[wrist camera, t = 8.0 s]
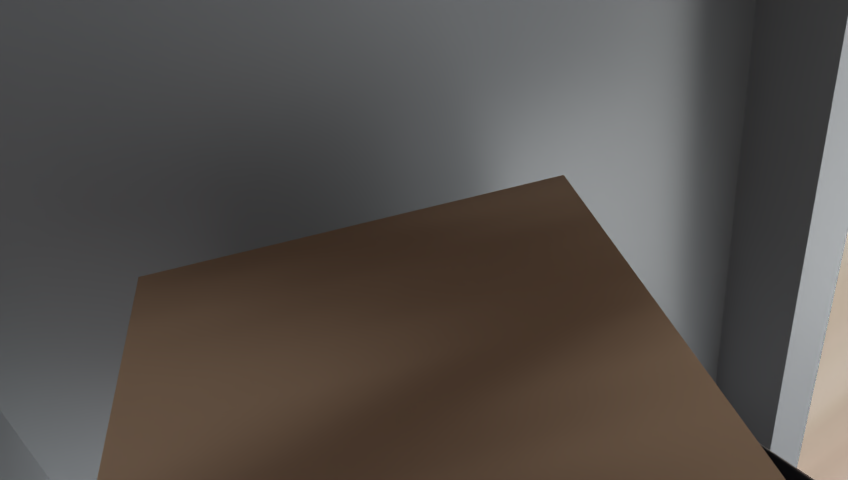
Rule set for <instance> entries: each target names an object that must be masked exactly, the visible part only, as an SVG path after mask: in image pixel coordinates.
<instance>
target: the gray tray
mask: <svg viewBox="0 0 848 480" xmlns="http://www.w3.org/2000/svg"><path fill="white" fill-rule="evenodd" d="M561 175H564V176H565V177H566V179H567V180H568V181H569V183H570V184H571V186H572V187H573V188H574V190H575V191H576V192H577V194H578V195H579V197H580V198H581V199H582V201H583V202H584V203H585V205H586V206H587V207H588V209H589V210H590V212H591V213H592V214H593V216H594V217H595V218H596V220H597V221H598V223H599V224H600V225H601V227H602V228H603V229H604V231H605V232H606V234H607V235H608V236H609V238H610V239H611V240H612V242H613V243H614V245H615V246H616V247H617V249H618V250H619V251H620V253H621V254H622V256H623V257H624V258H625V260H626V261H627V262H628V264H629V265H630V267H631V268H632V269H633V271H634V272H635V273H636V275H637V276H638V278H639V279H640V280H641V282H642V283H643V284H644V286H645V287H646V289H647V290H648V291H649V293H650V294H651V295H652V297H653V298H654V299H655V301H656V302H657V304H658V305H659V306H660V308H661V309H662V310H663V312H664V313H665V315H666V316H667V317H668V319H669V320H670V321H671V323H672V324H673V326H674V327H675V328H676V330H677V331H678V332H679V334H680V335H681V337H682V338H683V339H684V341H685V342H686V343H687V345H688V346H689V348H690V349H691V350H692V352H693V353H694V354H695V356H696V357H697V359H698V360H699V361H700V363H701V364H702V365H703V367H704V368H705V370H706V371H707V372H708V374H709V375H710V376H711V378H712V379H713V381H714V382H715V383H716V385H717V386H718V387H719V389H720V390H721V391H722V393H723V394H724V396H725V397H726V398H727V400H728V401H729V402H730V404H731V405H732V407H733V408H734V409H735V411H736V412H737V413H738V415H739V416H740V418H741V419H742V420H743V422H744V423H745V424H746V426H747V427H748V429H749V430H750V431H751V433H752V434H753V435H754V437H755V438H756V440H757V441H758V442H759V443H760V444H761V445H763V446H764V447H766V448H767V449H769V450H770V451H772V452H773V453H775V454H776V455H778V456H779V457H781V458H782V459H784V460H785V461H787V462H788V463H790V464H791V465H793V466H794V467H796V468H797V464H798V460H799V455H800V450H801V446H802V441H803V437H804V432H805V427H806V423H807V418H808V413H809V409H810V404H811V399H812V395H813V390H814V386H815V381H816V376H817V372H818V367H819V362H820V358H821V353H822V348H823V344H824V339H825V334H826V330H827V325H828V321H829V316H830V311H831V307H832V302H833V297H834V293H835V288H836V283H837V279H838V274H839V270H840V265H841V260H842V256H843V251H844V246H845V242H846V237H847V232H848V0H0V480H97V477H98V472H99V468H100V463H101V458H102V453H103V448H104V443H105V438H106V433H107V428H108V424H109V419H110V414H111V409H112V404H113V399H114V394H115V389H116V385H117V380H118V375H119V370H120V365H121V360H122V355H123V350H124V345H125V341H126V336H127V331H128V326H129V321H130V316H131V311H132V306H133V301H134V297H135V292H136V287H137V282H138V277H141V276H145V275H149V274H153V273H157V272H162V271H166V270H170V269H174V268H178V267H182V266H187V265H191V264H195V263H199V262H203V261H207V260H211V259H216V258H220V257H224V256H228V255H232V254H236V253H241V252H245V251H249V250H253V249H257V248H261V247H266V246H270V245H274V244H278V243H282V242H286V241H291V240H295V239H299V238H303V237H307V236H311V235H315V234H320V233H324V232H328V231H332V230H336V229H340V228H345V227H349V226H353V225H357V224H361V223H365V222H370V221H374V220H378V219H382V218H386V217H390V216H395V215H399V214H403V213H407V212H411V211H415V210H419V209H424V208H428V207H432V206H436V205H440V204H444V203H449V202H453V201H457V200H461V199H465V198H469V197H474V196H478V195H482V194H486V193H490V192H494V191H499V190H503V189H507V188H511V187H515V186H519V185H523V184H528V183H532V182H536V181H540V180H544V179H548V178H553V177H557V176H561Z"/></svg>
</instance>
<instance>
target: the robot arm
mask: <svg viewBox="0 0 848 480" xmlns="http://www.w3.org/2000/svg"><path fill="white" fill-rule="evenodd" d="M759 444H760V443H759ZM760 445H761V444H760ZM761 446H762V448H763V449H764V451H765V452H766V453H767V455H768V456H769V457H770V459H771V460H772V462H773V463H774V464H775V466H776V467H777V468H778V470H779V471H780V473H781V474H782V475H783V477H784V478H785V479H786V480H814V479H812V478H811V477H809V476H808V475H806V474H805V473H803V472H802V471H800V470H799V469H797V468H796V467H794V466H793V465H791V464H790V463H788V462H787V461H785V460H784V459H782V458H781V457H779V456H778V455H776V454H775V453H773V452H772V451H770V450H769V449H767V448H766V447H764V446H763V445H761Z"/></svg>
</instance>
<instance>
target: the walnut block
mask: <svg viewBox="0 0 848 480" xmlns="http://www.w3.org/2000/svg"><path fill="white" fill-rule="evenodd" d="M97 480H786V479H785V478H784V477H783V475H782V474H781V473H780V471H779V470H778V468H777V467H776V466H775V464H774V463H773V462H772V460H771V459H770V457H769V456H768V455H767V453H766V452H765V451H764V449H763V448H762V446H761V445H760V444H759V442H758V441H757V440H756V438H755V437H754V435H753V434H752V433H751V431H750V430H749V429H748V427H747V426H746V424H745V423H744V422H743V420H742V419H741V418H740V416H739V415H738V413H737V412H736V411H735V409H734V408H733V407H732V405H731V404H730V402H729V401H728V400H727V398H726V397H725V396H724V394H723V393H722V391H721V390H720V389H719V387H718V386H717V385H716V383H715V382H714V381H713V379H712V378H711V376H710V375H709V374H708V372H707V371H706V370H705V368H704V367H703V365H702V364H701V363H700V361H699V360H698V359H697V357H696V356H695V354H694V353H693V352H692V350H691V349H690V348H689V346H688V345H687V343H686V342H685V341H684V339H683V338H682V337H681V335H680V334H679V332H678V331H677V330H676V328H675V327H674V326H673V324H672V323H671V321H670V320H669V319H668V317H667V316H666V315H665V313H664V312H663V310H662V309H661V308H660V306H659V305H658V304H657V302H656V301H655V299H654V298H653V297H652V295H651V294H650V293H649V291H648V290H647V289H646V287H645V286H644V284H643V283H642V282H641V280H640V279H639V278H638V276H637V275H636V273H635V272H634V271H633V269H632V268H631V267H630V265H629V264H628V262H627V261H626V260H625V258H624V257H623V256H622V254H621V253H620V251H619V250H618V249H617V247H616V246H615V245H614V243H613V242H612V240H611V239H610V238H609V236H608V235H607V234H606V232H605V231H604V229H603V228H602V227H601V225H600V224H599V223H598V221H597V220H596V218H595V217H594V216H593V214H592V213H591V212H590V210H589V209H588V207H587V206H586V205H585V203H584V202H583V201H582V199H581V198H580V197H579V195H578V194H577V192H576V191H575V190H574V188H573V187H572V186H571V184H570V183H569V181H568V180H567V179H566V177H565V176H564V175H561V176H557V177H553V178H548V179H544V180H540V181H536V182H532V183H528V184H523V185H519V186H515V187H511V188H507V189H503V190H499V191H494V192H490V193H486V194H482V195H478V196H474V197H469V198H465V199H461V200H457V201H453V202H449V203H444V204H440V205H436V206H432V207H428V208H424V209H419V210H415V211H411V212H407V213H403V214H399V215H395V216H390V217H386V218H382V219H378V220H374V221H370V222H365V223H361V224H357V225H353V226H349V227H345V228H340V229H336V230H332V231H328V232H324V233H320V234H315V235H311V236H307V237H303V238H299V239H295V240H291V241H286V242H282V243H278V244H274V245H270V246H266V247H261V248H257V249H253V250H249V251H245V252H241V253H236V254H232V255H228V256H224V257H220V258H216V259H211V260H207V261H203V262H199V263H195V264H191V265H187V266H182V267H178V268H174V269H170V270H166V271H162V272H157V273H153V274H149V275H145V276H141V277H138V282H137V287H136V292H135V297H134V301H133V306H132V311H131V316H130V321H129V326H128V331H127V336H126V341H125V345H124V350H123V355H122V360H121V365H120V370H119V375H118V380H117V385H116V389H115V394H114V399H113V404H112V409H111V414H110V419H109V424H108V428H107V433H106V438H105V443H104V448H103V453H102V458H101V463H100V468H99V472H98V477H97Z"/></svg>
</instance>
